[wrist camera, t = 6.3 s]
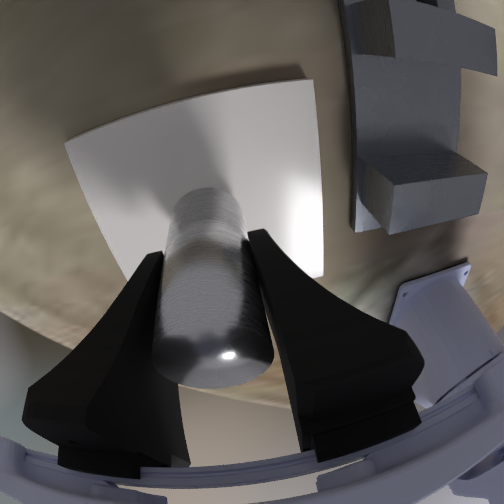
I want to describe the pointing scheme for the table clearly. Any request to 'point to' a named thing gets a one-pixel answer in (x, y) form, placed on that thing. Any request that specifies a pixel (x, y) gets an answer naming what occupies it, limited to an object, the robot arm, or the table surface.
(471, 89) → the table surface
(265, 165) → the coaster
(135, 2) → the table surface
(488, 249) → the table surface
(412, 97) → the vise
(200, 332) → the steel pin
